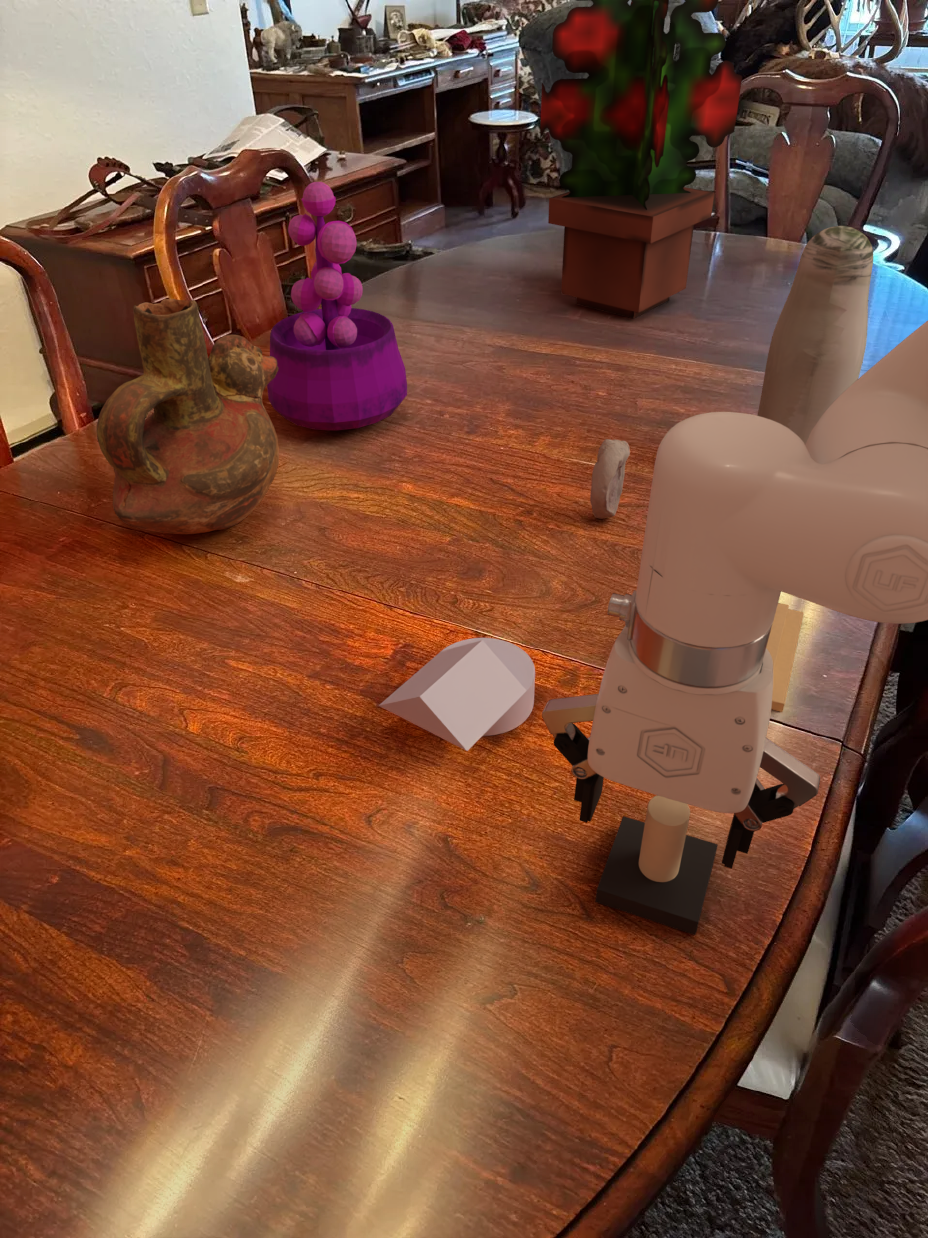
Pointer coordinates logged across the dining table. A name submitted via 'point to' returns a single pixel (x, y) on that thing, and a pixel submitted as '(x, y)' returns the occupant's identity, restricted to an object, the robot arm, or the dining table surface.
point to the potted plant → (634, 146)
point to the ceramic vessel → (189, 427)
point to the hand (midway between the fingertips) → (658, 828)
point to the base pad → (783, 650)
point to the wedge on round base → (468, 691)
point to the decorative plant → (333, 336)
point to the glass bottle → (819, 331)
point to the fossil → (608, 477)
